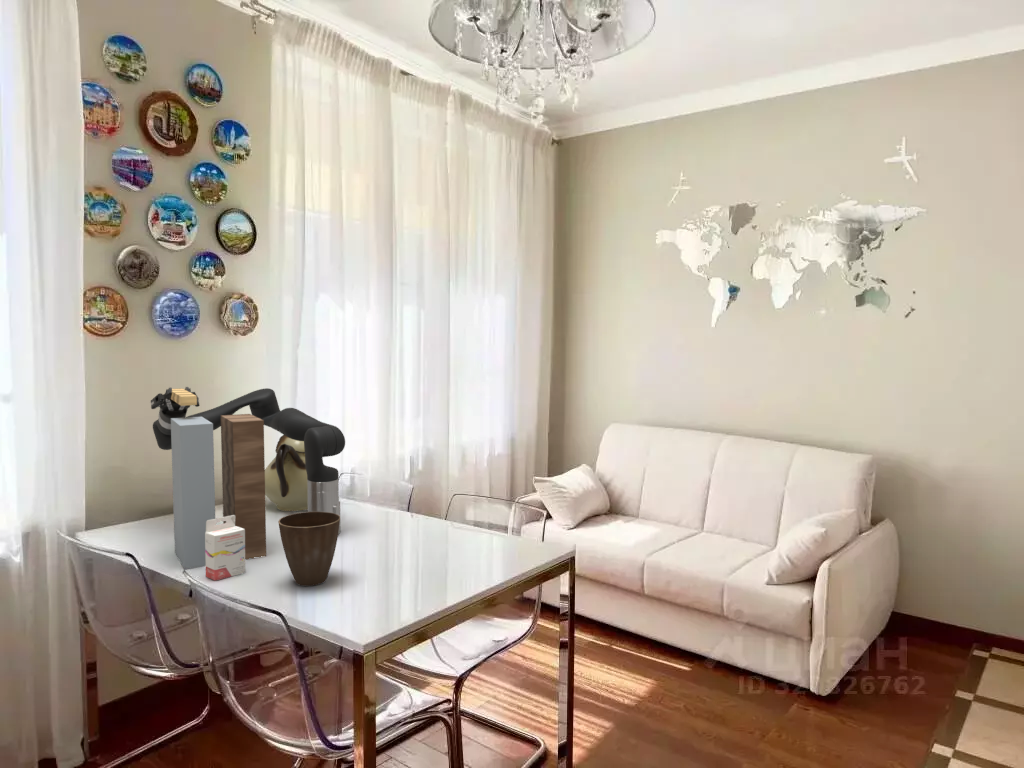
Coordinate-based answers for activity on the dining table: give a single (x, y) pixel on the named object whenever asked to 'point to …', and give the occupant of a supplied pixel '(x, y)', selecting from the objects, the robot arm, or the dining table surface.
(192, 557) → the slate grey pillar
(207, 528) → the ink cartridge box
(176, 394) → the pine slat
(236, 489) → the walnut pillar
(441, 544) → the dining table surface
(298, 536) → the plant pot
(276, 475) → the pitcher
